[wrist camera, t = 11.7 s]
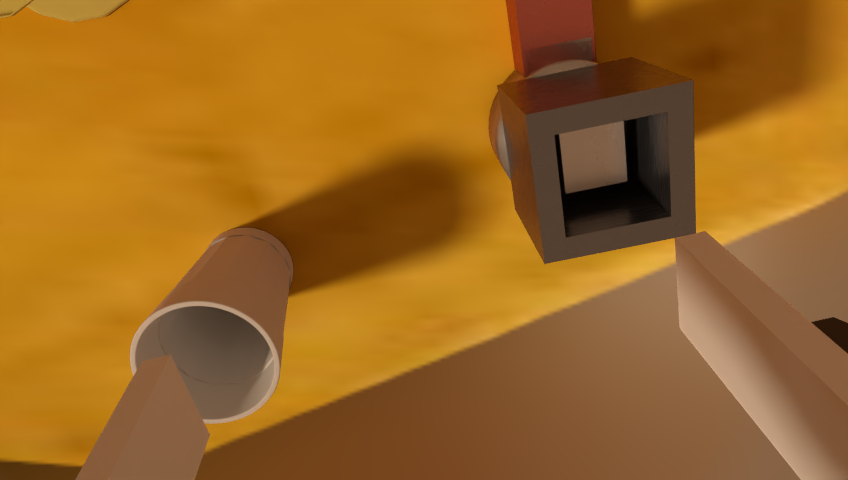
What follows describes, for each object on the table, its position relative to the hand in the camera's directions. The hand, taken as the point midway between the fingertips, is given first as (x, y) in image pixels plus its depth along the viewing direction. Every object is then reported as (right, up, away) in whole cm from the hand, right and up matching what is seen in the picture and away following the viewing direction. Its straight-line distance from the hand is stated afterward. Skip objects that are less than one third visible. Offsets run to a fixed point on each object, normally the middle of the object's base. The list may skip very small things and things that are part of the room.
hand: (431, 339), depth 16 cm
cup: (-13, +1, +29) cm, 32 cm away
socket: (+9, +9, +22) cm, 26 cm away
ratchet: (+7, +16, +23) cm, 29 cm away
